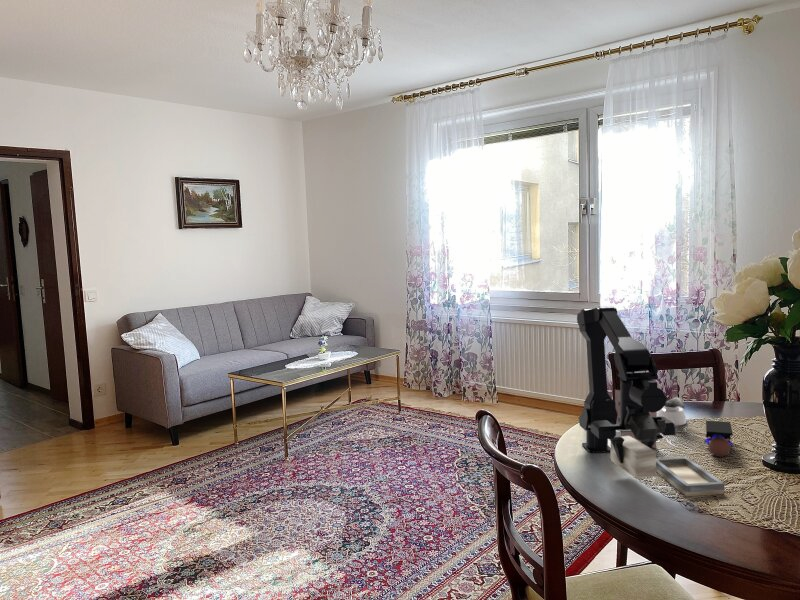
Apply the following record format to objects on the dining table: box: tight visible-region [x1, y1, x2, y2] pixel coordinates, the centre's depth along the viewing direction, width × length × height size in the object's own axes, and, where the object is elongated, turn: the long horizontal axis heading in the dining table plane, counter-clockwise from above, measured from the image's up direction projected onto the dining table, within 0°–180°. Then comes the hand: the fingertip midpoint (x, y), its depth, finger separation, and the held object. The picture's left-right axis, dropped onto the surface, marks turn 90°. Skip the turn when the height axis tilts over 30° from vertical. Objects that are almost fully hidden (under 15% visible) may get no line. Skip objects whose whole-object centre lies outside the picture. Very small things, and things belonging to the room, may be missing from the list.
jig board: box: [656, 456, 725, 497], centre depth 142 cm, size 16×9×2 cm, turn 3°
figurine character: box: [704, 420, 734, 457], centre depth 161 cm, size 7×8×15 cm
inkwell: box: [657, 396, 688, 427], centre depth 180 cm, size 9×18×10 cm, turn 173°
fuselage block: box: [610, 436, 657, 479], centre depth 142 cm, size 11×5×6 cm, turn 12°
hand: (632, 461), depth 142 cm, fingers closed on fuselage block, 5 cm apart
